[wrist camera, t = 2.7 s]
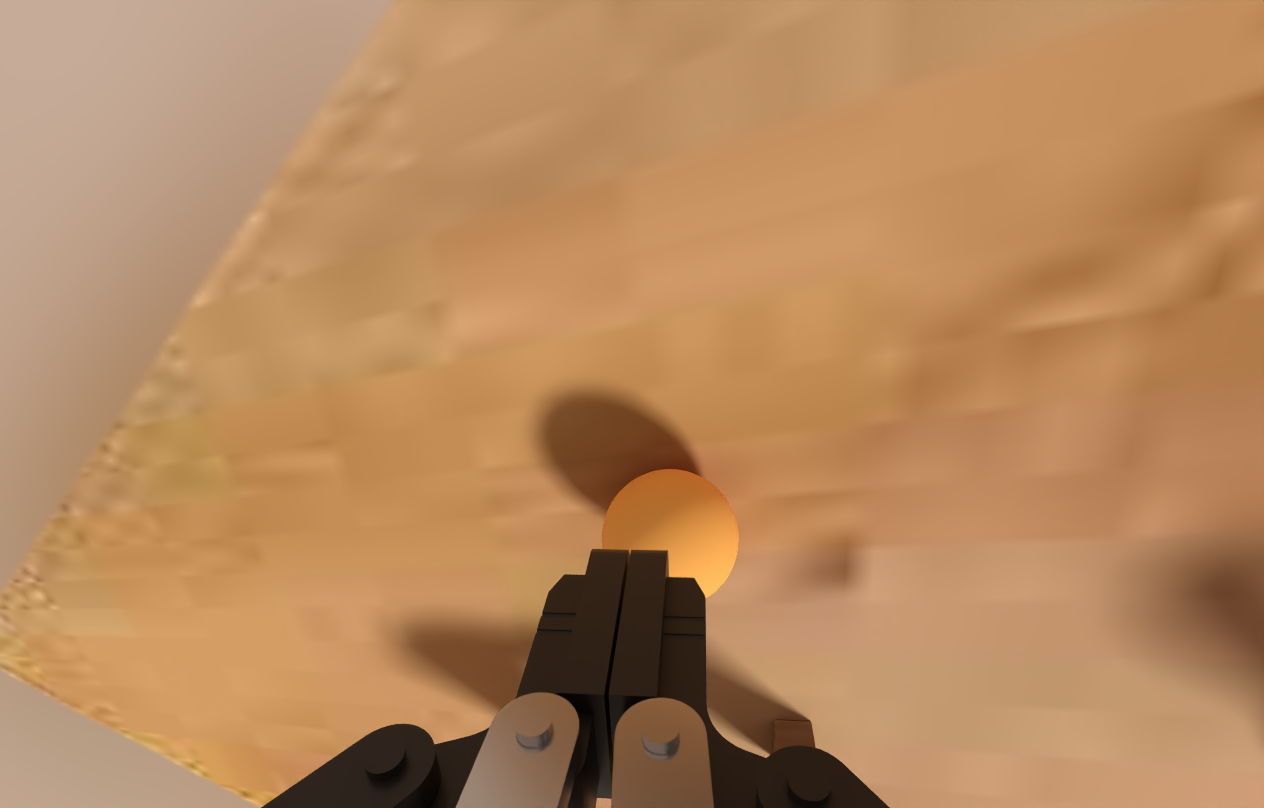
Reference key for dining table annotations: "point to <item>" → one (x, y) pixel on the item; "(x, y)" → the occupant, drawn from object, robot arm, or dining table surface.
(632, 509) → the ball
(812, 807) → the robot arm
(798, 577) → the dining table surface
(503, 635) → the dining table surface
